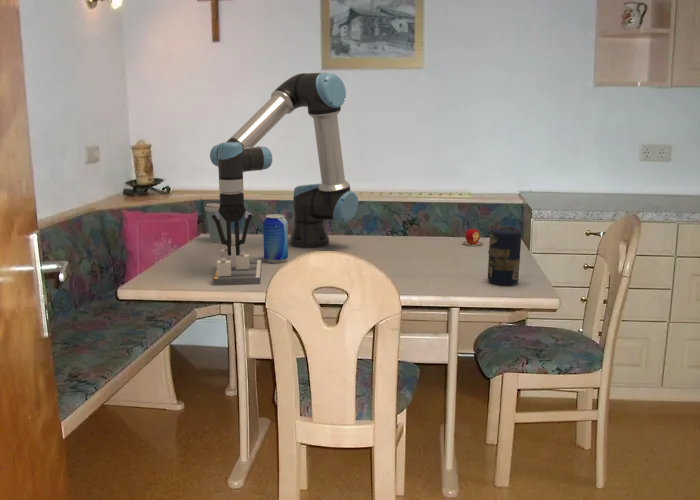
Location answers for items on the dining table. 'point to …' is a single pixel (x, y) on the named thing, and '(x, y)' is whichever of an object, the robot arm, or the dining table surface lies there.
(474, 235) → the apple
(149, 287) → the dining table surface
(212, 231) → the disposable coffee cup
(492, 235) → the canister
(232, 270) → the panel
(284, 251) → the beer can
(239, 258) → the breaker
